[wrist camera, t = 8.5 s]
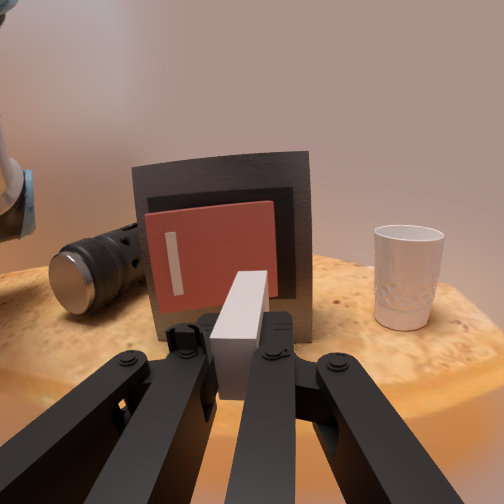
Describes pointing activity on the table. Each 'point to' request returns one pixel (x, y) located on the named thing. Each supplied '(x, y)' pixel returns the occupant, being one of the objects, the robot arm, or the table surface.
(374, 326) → the table surface
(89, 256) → the muzzle brake
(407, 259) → the white cup
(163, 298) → the rocker
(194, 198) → the switch box
